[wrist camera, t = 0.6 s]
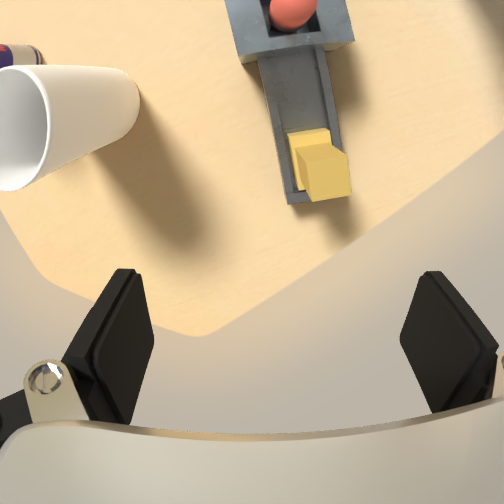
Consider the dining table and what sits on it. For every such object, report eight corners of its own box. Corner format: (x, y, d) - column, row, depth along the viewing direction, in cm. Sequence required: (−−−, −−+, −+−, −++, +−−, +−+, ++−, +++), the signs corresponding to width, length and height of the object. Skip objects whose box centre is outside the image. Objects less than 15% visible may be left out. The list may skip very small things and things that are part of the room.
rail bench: (320, -3, 23) (337, -25, 17) (354, 182, 32) (377, 206, 26) (228, 9, 24) (221, -12, 17) (270, 197, 33) (274, 224, 27)
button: (301, -2, 19) (311, -20, 15) (309, 30, 21) (321, 17, 16) (264, 3, 19) (267, -15, 15) (272, 34, 21) (277, 22, 17)
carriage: (324, 127, 28) (349, 141, 21) (331, 177, 30) (356, 207, 23) (286, 133, 28) (299, 149, 21) (295, 183, 30) (309, 215, 23)
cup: (154, 114, 29) (73, 142, 15) (95, 157, 31) (1, 214, 16) (116, 52, 25) (17, 38, 11) (60, 99, 27) (-46, 124, 13)
